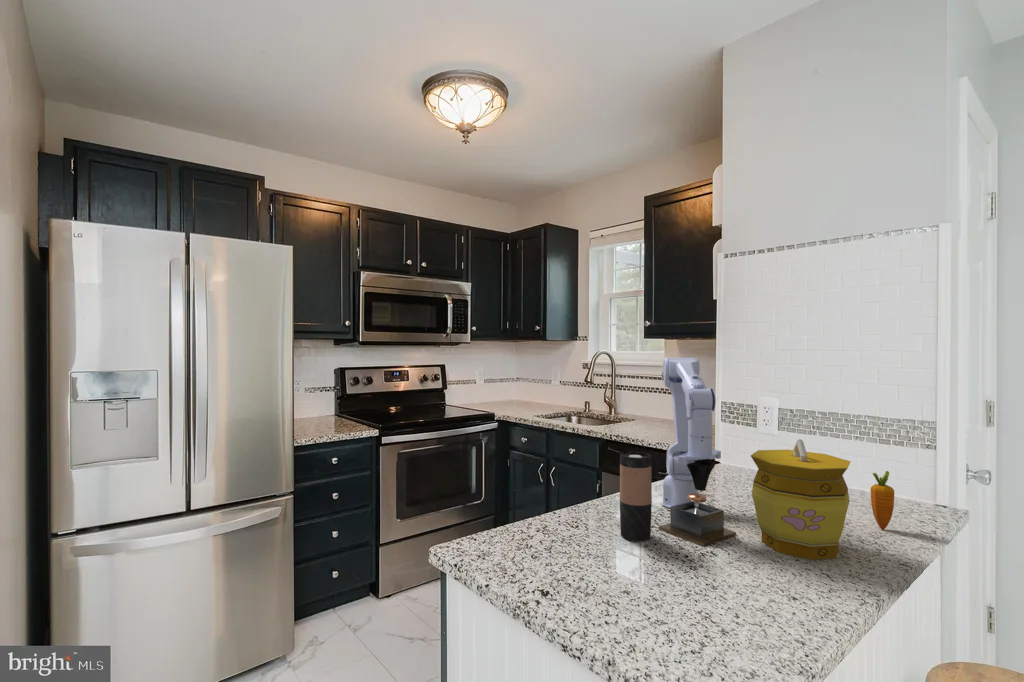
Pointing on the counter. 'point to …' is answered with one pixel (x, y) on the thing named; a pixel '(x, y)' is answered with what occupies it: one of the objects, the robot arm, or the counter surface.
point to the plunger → (697, 503)
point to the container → (800, 501)
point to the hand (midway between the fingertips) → (700, 489)
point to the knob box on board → (697, 524)
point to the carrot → (882, 501)
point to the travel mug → (635, 496)
